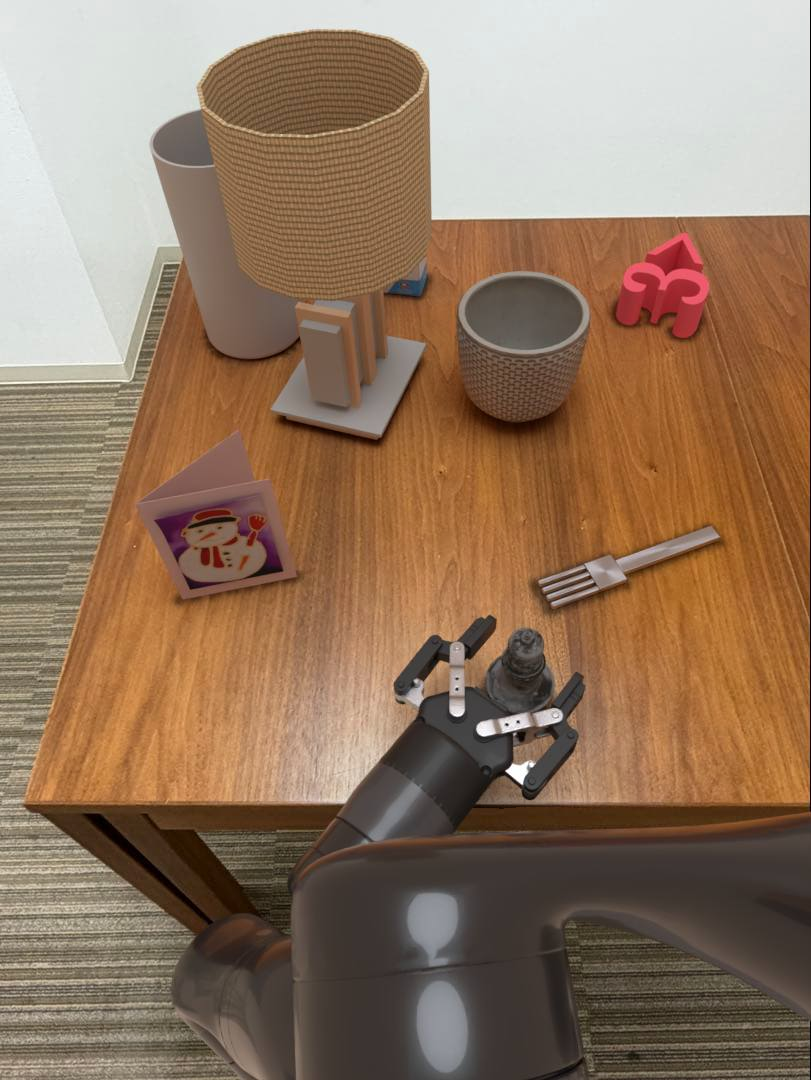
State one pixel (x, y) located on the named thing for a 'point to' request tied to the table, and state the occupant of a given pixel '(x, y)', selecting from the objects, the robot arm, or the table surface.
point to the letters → (666, 286)
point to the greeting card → (218, 524)
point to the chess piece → (521, 674)
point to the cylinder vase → (216, 247)
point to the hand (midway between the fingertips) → (535, 648)
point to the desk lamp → (328, 204)
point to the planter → (521, 343)
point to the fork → (619, 568)
